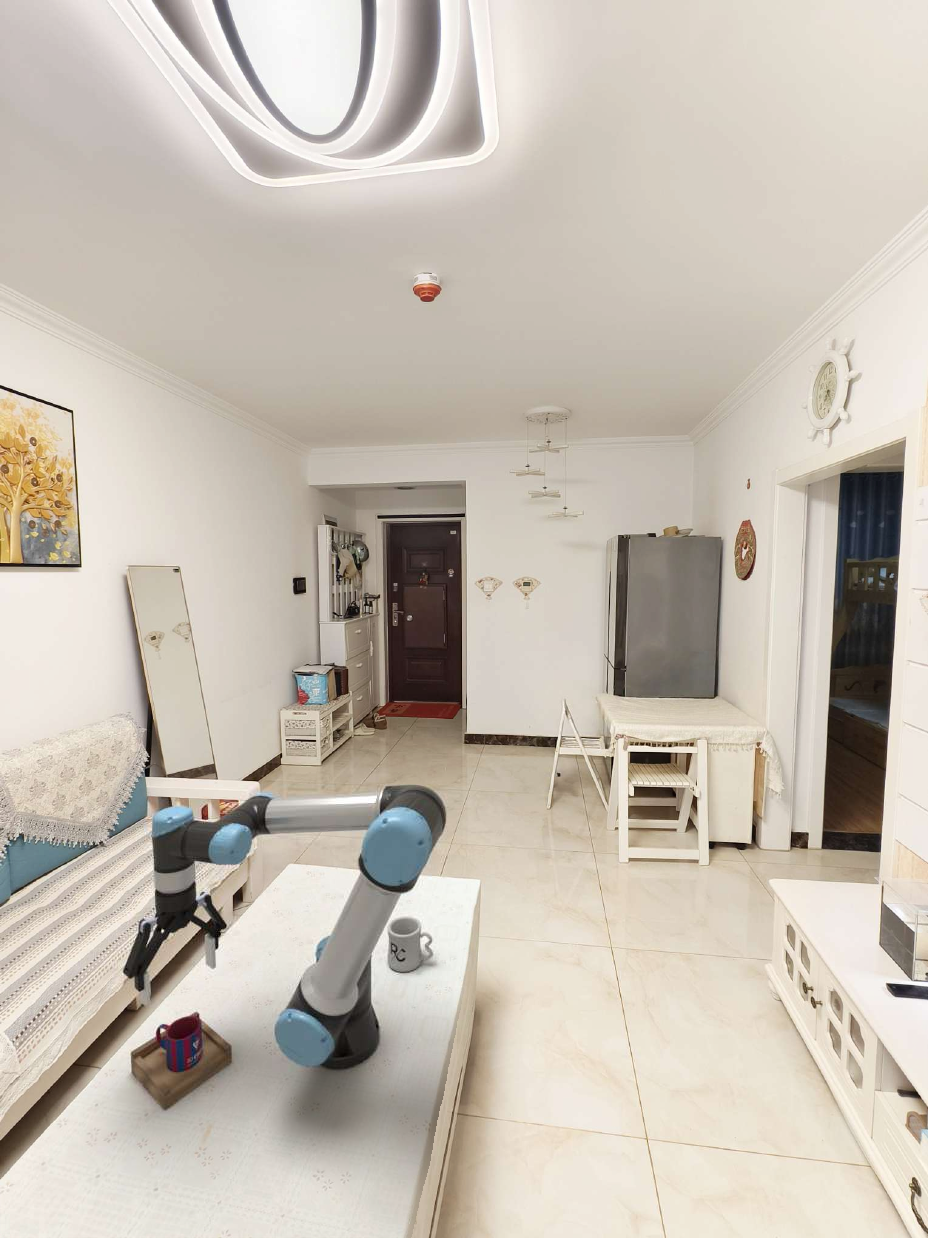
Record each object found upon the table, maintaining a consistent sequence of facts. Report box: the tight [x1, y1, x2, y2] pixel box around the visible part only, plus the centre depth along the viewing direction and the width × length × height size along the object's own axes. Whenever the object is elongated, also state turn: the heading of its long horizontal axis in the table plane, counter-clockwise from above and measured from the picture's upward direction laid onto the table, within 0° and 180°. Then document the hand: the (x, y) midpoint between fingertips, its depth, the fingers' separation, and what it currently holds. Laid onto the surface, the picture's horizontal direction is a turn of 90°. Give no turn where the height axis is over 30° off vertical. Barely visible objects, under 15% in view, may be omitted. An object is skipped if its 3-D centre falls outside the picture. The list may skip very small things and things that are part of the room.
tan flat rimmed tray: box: [130, 1011, 233, 1111], centre depth 121 cm, size 14×14×4 cm
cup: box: [155, 1015, 203, 1072], centre depth 121 cm, size 7×10×7 cm
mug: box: [386, 916, 434, 973], centre depth 154 cm, size 12×9×10 cm
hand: (179, 983), depth 120 cm, fingers open, 13 cm apart
